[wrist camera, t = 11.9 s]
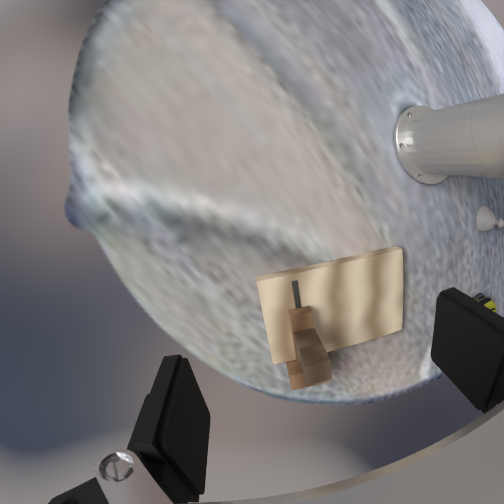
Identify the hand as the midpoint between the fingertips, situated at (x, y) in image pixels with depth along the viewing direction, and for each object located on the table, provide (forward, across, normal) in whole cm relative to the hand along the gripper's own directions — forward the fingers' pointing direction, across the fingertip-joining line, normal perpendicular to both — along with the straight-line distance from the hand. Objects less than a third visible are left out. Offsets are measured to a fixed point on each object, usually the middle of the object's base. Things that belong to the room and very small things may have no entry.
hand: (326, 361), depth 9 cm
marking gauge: (+30, -3, +18) cm, 35 cm away
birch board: (+30, -9, +14) cm, 35 cm away
